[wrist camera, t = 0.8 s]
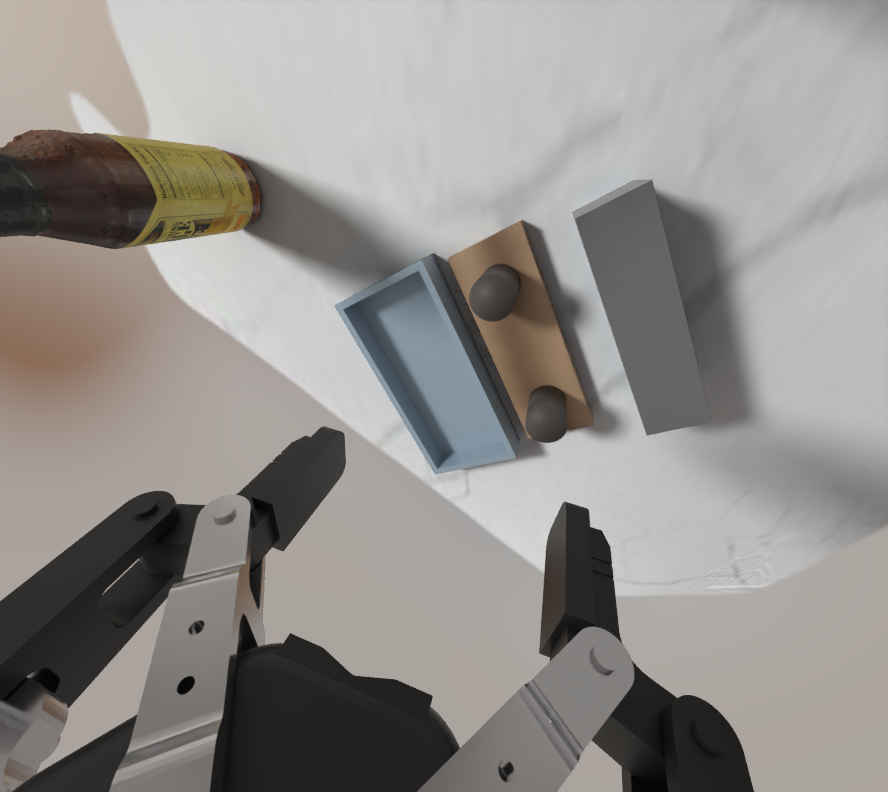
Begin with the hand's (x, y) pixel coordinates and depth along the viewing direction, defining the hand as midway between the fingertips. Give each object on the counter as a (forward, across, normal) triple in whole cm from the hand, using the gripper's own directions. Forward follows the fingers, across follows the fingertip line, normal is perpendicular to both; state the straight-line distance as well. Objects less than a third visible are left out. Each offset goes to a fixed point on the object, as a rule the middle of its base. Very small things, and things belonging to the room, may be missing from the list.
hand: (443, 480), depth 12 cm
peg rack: (+21, -2, +3) cm, 21 cm away
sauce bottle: (+21, +26, -5) cm, 34 cm away
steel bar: (+21, -8, -2) cm, 23 cm away
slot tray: (+21, +6, +8) cm, 23 cm away
